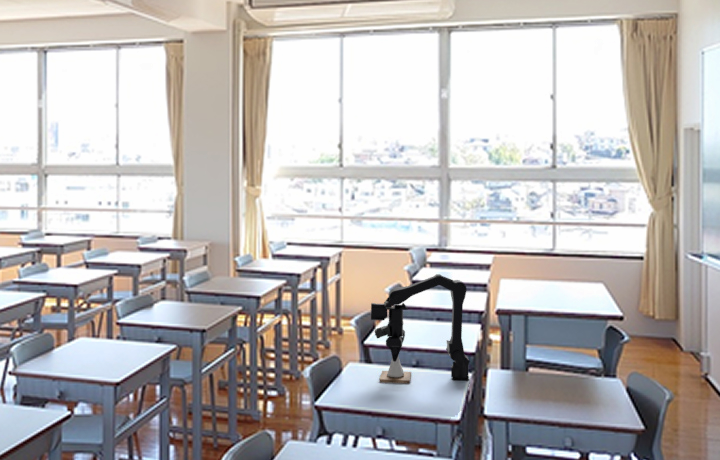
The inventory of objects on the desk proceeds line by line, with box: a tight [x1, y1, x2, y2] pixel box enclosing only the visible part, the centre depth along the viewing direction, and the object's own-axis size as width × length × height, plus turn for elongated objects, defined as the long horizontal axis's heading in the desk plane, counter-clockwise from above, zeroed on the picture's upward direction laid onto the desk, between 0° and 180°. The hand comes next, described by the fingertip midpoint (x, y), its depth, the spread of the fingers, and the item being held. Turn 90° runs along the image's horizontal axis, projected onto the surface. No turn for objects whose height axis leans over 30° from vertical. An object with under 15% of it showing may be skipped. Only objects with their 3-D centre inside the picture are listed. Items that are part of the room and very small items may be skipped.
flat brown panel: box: [379, 370, 412, 384], centre depth 263 cm, size 12×12×2 cm
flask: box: [387, 355, 405, 377], centre depth 262 cm, size 7×7×10 cm
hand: (395, 358), depth 262 cm, fingers open, 9 cm apart
